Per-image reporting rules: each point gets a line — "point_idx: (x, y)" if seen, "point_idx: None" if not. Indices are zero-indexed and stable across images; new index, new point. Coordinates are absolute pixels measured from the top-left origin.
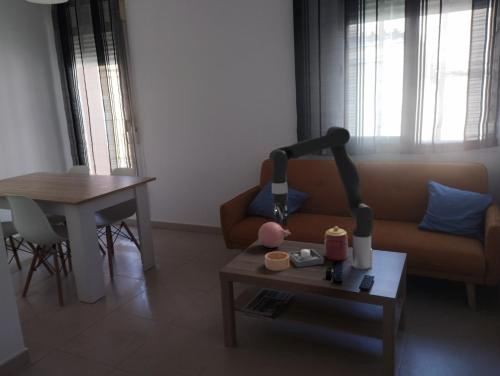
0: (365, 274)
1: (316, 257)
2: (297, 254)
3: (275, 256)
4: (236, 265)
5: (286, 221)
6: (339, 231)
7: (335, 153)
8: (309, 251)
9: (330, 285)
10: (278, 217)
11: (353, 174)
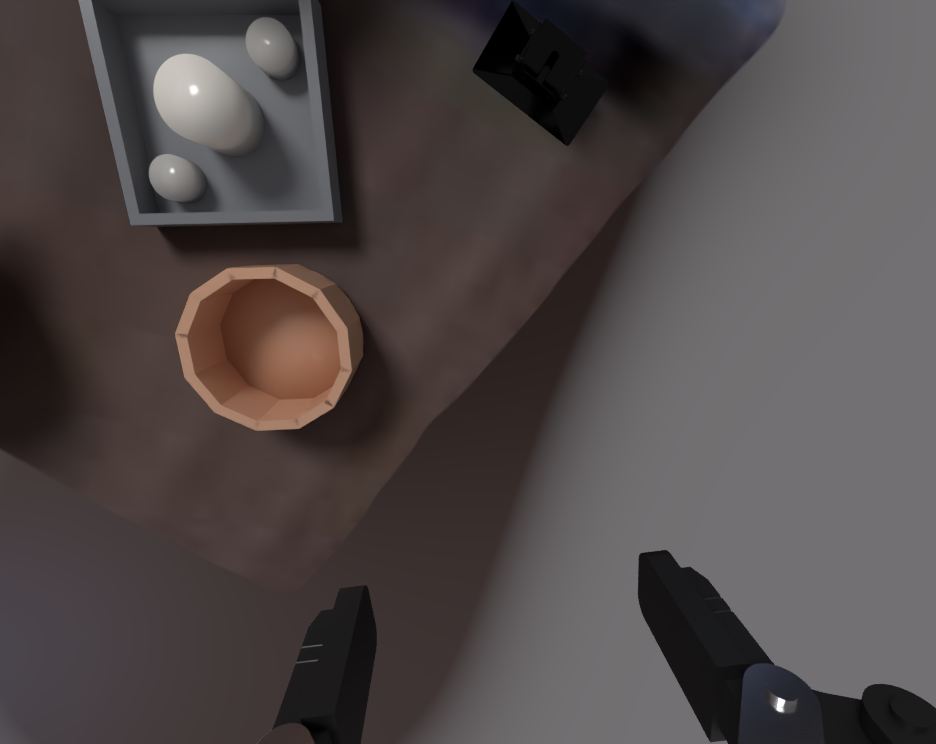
0: None
1: (262, 33)
2: (169, 160)
3: (205, 337)
4: (230, 539)
5: (745, 631)
6: None
7: None
8: (219, 69)
9: (652, 131)
10: (353, 672)
11: None
